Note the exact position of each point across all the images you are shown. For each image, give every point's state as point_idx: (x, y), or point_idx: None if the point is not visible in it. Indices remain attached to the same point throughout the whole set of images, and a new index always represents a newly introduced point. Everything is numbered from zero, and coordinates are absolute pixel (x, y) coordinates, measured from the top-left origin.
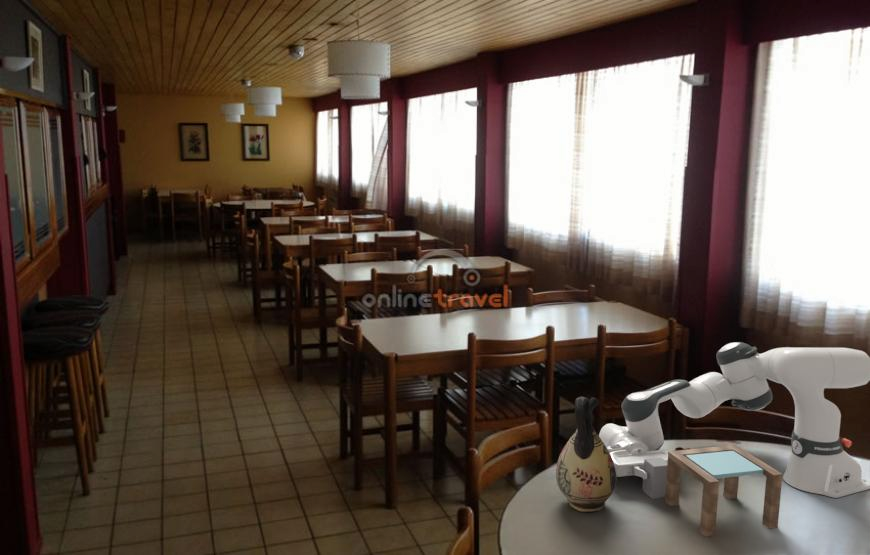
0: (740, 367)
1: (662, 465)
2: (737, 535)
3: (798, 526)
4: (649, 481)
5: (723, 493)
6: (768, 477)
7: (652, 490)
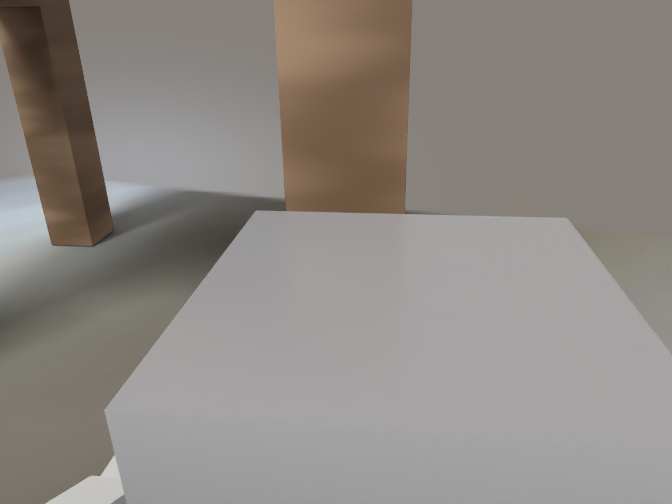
0: None
1: (397, 217)
2: None
3: (2, 223)
4: None
5: None
6: (50, 3)
7: None
